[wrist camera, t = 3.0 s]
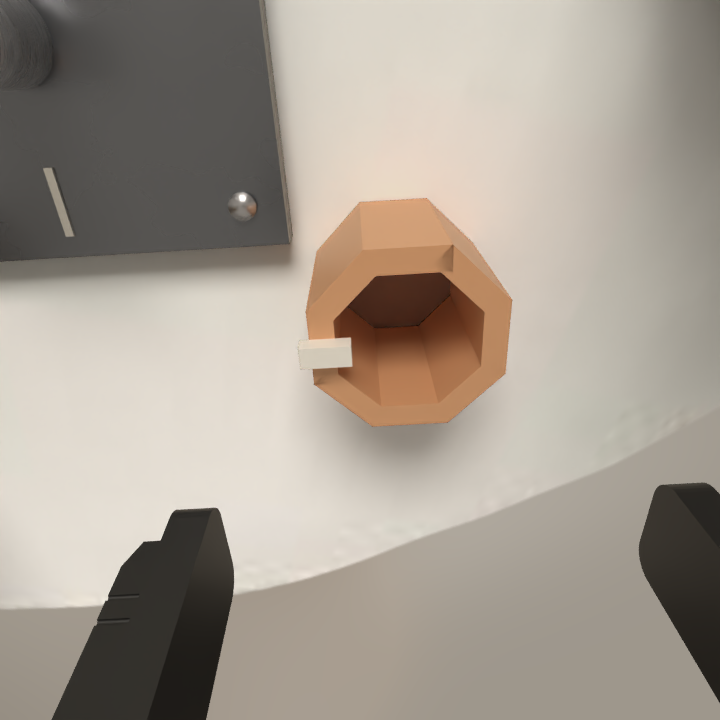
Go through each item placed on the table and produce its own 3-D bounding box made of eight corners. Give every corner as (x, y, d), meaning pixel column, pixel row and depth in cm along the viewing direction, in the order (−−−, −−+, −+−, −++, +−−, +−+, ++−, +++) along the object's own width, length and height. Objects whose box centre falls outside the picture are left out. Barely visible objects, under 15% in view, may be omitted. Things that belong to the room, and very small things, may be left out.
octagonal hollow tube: (474, 195, 20) (524, 246, 14) (467, 339, 23) (505, 430, 17) (304, 205, 20) (286, 260, 14) (320, 348, 23) (309, 441, 17)
